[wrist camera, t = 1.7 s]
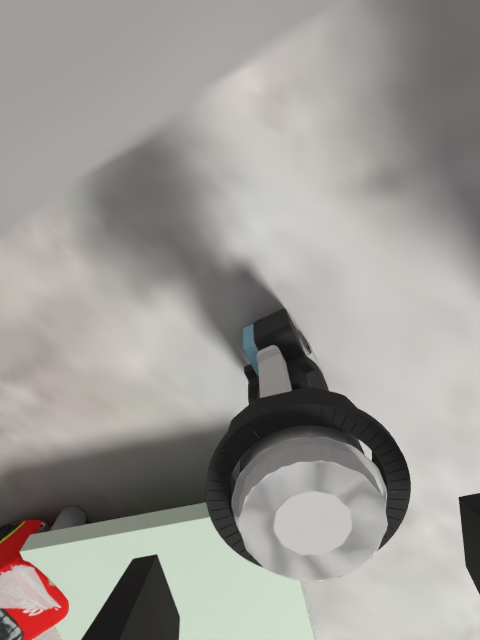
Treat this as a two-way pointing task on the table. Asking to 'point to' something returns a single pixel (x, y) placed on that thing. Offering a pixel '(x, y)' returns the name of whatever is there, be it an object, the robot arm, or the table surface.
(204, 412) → the table surface
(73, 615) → the stand
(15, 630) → the race car
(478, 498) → the robot arm
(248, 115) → the table surface
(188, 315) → the table surface
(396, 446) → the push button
